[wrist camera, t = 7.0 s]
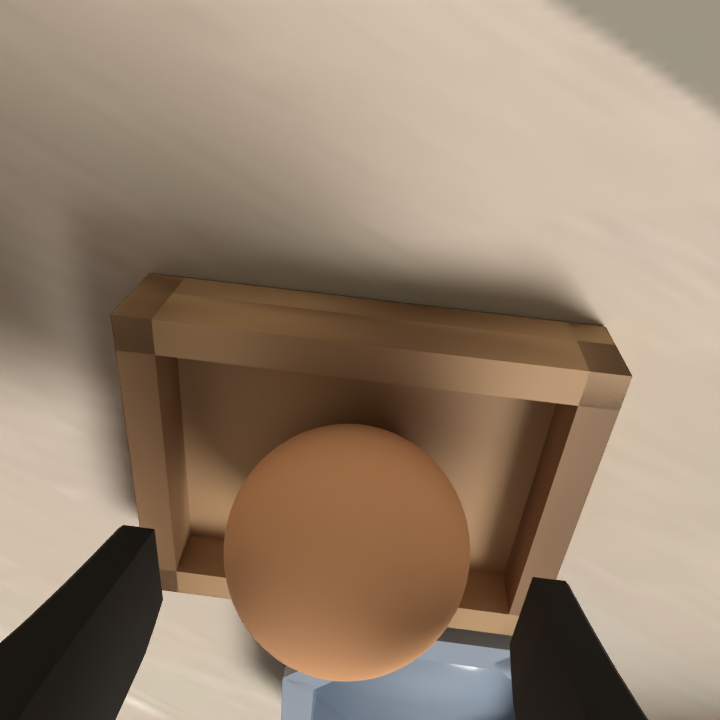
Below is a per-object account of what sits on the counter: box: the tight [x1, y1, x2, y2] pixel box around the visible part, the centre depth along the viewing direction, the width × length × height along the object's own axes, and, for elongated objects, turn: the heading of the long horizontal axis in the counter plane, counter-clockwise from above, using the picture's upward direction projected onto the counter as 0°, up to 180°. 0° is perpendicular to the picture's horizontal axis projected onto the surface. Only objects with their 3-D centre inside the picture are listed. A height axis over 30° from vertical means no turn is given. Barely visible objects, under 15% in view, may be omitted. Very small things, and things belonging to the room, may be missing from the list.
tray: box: [111, 273, 632, 636], centre depth 15 cm, size 10×8×2 cm
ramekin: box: [281, 627, 516, 720], centre depth 19 cm, size 9×9×2 cm
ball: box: [224, 424, 470, 681], centre depth 13 cm, size 5×5×5 cm
